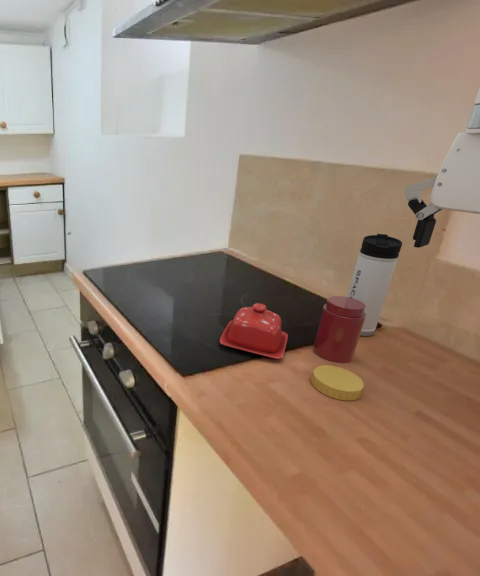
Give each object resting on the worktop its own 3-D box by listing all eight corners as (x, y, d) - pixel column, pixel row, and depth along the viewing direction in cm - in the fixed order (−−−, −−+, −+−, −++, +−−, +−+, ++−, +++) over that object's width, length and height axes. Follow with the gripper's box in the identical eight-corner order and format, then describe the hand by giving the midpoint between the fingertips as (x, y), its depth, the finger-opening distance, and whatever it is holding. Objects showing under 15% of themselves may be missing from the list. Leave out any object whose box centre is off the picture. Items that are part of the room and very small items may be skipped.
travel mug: (373, 326, 82) (401, 235, 74) (374, 339, 76) (405, 243, 69) (339, 319, 85) (363, 231, 77) (338, 331, 79) (364, 238, 72)
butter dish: (281, 366, 68) (291, 323, 65) (216, 349, 73) (222, 309, 70) (287, 338, 77) (296, 299, 74) (229, 324, 82) (235, 288, 79)
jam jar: (325, 340, 76) (338, 292, 72) (360, 356, 71) (376, 305, 67) (305, 349, 73) (317, 299, 69) (340, 366, 68) (356, 313, 64)
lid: (345, 406, 58) (348, 397, 57) (301, 382, 63) (303, 373, 63) (370, 391, 61) (373, 382, 60) (326, 369, 67) (328, 360, 66)
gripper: (633, 116, 41) (563, 265, 47) (437, 121, 55) (403, 236, 61) (617, 116, 37) (543, 278, 44) (412, 122, 51) (379, 244, 58)
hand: (462, 254), depth 53 cm, fingers open, 9 cm apart
